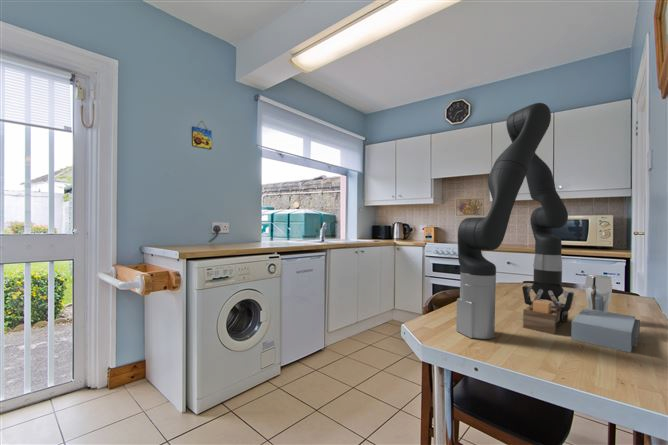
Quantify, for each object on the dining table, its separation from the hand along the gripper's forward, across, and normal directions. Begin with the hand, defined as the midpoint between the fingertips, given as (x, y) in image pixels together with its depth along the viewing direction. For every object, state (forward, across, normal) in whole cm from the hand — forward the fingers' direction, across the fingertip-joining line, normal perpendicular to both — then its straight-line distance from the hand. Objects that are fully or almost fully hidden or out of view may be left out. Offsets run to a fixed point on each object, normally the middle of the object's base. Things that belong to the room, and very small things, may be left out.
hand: (546, 320), depth 100 cm
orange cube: (-3, 0, +6) cm, 7 cm away
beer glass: (+1, -11, -20) cm, 22 cm away
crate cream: (-3, 0, -6) cm, 7 cm away
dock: (+1, -14, 0) cm, 14 cm away
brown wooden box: (+1, 0, 0) cm, 1 cm away
